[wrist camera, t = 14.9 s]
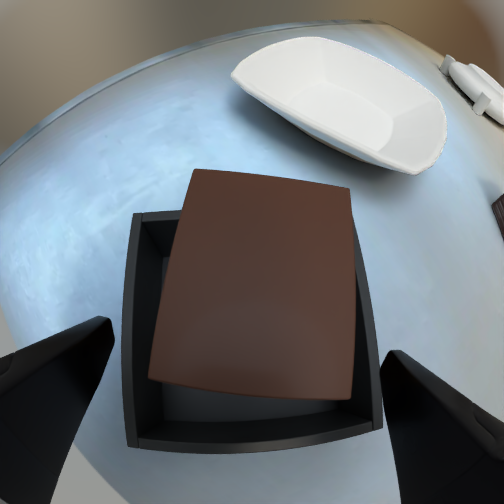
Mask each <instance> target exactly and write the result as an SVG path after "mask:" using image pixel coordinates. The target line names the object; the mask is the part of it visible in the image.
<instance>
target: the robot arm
mask: <svg viewBox="0 0 504 504" xmlns="http://www.w3.org/2000/svg"><path fill="white" fill-rule="evenodd" d="M114 343H115V337H114V332H113V327H112V323H111V320H110V319H109V318H107V317H103V316H97V317H94V318H92V319H90V320H87V321H85V322H83V323H80V324H78V325H76V326H73V327H71V328H69V329H66V330H64V331H62V332H59V333H57V334H55V335H53V336H50V337H48V338H46V339H43V340H41V341H39V342H36V343H34V344H32V345H29V346H27V347H25V348H23V349H20V350H18V351H16V352H15V353H11V354H9V355H6V356H4V357H2V358H0V504H50V502H51V499H52V496H53V493H54V490H55V487H56V485H57V481H58V478H59V476H60V473H61V470H62V468H63V465H64V462H65V460H66V457H67V455H68V452H69V450H70V447H71V445H72V442H73V440H74V438H75V435H76V433H77V431H78V428H79V426H80V424H81V421H82V419H83V417H84V415H85V413H86V410H87V408H88V406H89V404H90V402H91V400H92V398H93V395H94V393H95V391H96V389H97V387H98V385H99V383H100V381H101V378H102V376H103V373H104V370H105V367H106V365H107V362H108V359H109V357H110V354H111V351H112V349H113V346H114ZM379 377H380V383H381V390H382V398H383V405H384V412H385V417H386V421H387V426H388V430H389V435H390V439H391V444H392V449H393V455H394V460H395V465H396V471H397V477H398V484H399V490H400V498H401V504H504V423H503V422H502V421H500V420H498V419H497V418H495V417H494V416H492V415H491V414H489V413H488V412H486V411H485V410H483V409H482V408H480V407H479V406H478V405H476V404H475V403H472V401H471V400H469V399H468V398H467V397H465V396H464V395H463V394H461V393H460V392H458V391H457V390H456V389H454V388H453V387H451V386H450V385H449V384H447V383H446V382H445V381H443V380H442V379H440V378H439V377H438V376H436V375H435V374H433V373H432V372H431V371H429V370H428V369H427V368H425V367H424V366H422V365H421V364H420V363H418V362H417V361H415V360H414V359H413V358H411V357H410V356H408V355H407V354H406V353H404V352H403V351H401V350H391V351H389V352H388V353H387V355H386V357H385V359H384V361H383V363H382V365H381V367H380V370H379Z"/></svg>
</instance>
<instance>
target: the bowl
mask: <svg viewBox="0 0 504 504" xmlns="http://www.w3.org/2000/svg"><path fill="white" fill-rule="evenodd" d="M230 76H231V79H232V80H233V81H234V82H235V83H237V84H238V85H239V86H240V87H241V88H242V89H243V90H245V91H246V92H247V93H249V94H250V95H252V96H253V97H254V98H256V99H257V100H259V101H260V102H262V103H263V104H265V105H266V106H267V107H269V108H270V109H272V110H274V111H275V112H276V113H278V114H279V115H281V116H282V117H283V118H285V119H286V120H287V121H289V122H290V123H292V124H293V125H294V126H296V127H297V128H299V129H300V130H302V131H303V132H304V133H306V134H307V135H309V136H311V137H312V138H314V139H315V140H317V141H319V142H321V143H323V144H325V145H327V146H329V147H330V148H332V149H335V150H337V151H339V152H341V153H343V154H346V155H348V156H350V157H352V158H354V159H356V160H359V161H362V162H365V163H369V164H373V165H378V166H381V167H384V168H387V169H391V170H395V171H398V172H402V173H406V174H409V175H413V176H414V175H418V174H420V173H421V172H423V171H425V170H427V169H428V168H430V167H432V166H433V164H434V163H435V161H436V160H437V159H438V157H439V156H440V154H441V152H442V150H443V147H444V145H445V142H446V139H447V121H446V115H445V111H444V109H443V107H442V105H441V102H440V101H439V99H438V98H437V97H436V96H435V95H433V94H432V93H431V92H430V91H429V90H427V89H426V88H425V87H424V86H423V85H421V84H420V83H418V82H417V81H416V80H414V79H413V78H411V77H410V76H408V75H407V74H405V73H403V72H402V71H400V70H399V69H397V68H395V67H393V66H392V65H390V64H388V63H386V62H384V61H383V60H381V59H379V58H377V57H374V56H372V55H370V54H368V53H366V52H363V51H361V50H359V49H356V48H354V47H351V46H348V45H346V44H343V43H340V42H337V41H333V40H329V39H326V38H322V37H300V38H295V39H289V40H285V41H282V42H278V43H275V44H272V45H269V46H267V47H265V48H263V49H261V50H259V51H257V52H255V53H253V54H251V55H250V56H248V57H247V58H245V59H244V60H243V61H241V62H240V63H239V64H238V65H237V66H236V68H235V69H234V70H233V72H232V73H231V75H230Z"/></svg>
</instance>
